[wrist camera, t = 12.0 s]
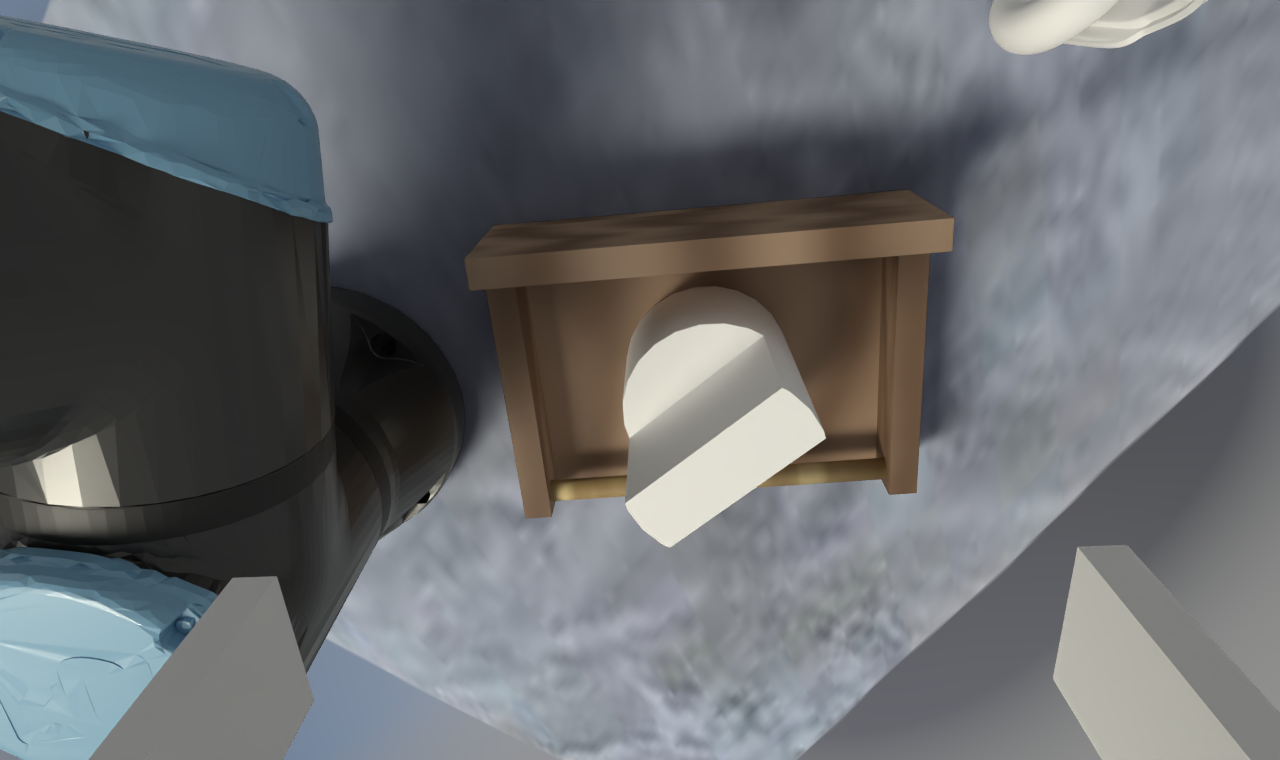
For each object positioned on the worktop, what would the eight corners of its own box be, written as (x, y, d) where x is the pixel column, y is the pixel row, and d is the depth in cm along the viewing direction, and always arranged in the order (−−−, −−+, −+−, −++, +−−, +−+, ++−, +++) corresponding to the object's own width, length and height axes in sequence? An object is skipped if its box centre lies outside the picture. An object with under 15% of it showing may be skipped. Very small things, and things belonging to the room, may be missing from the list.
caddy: (535, 482, 49) (517, 549, 42) (493, 225, 43) (463, 259, 36) (896, 457, 48) (933, 523, 41) (908, 189, 41) (954, 218, 35)
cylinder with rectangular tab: (719, 252, 42) (741, 329, 31) (819, 371, 44) (873, 482, 33) (593, 354, 44) (572, 460, 33) (695, 462, 47) (707, 593, 36)
